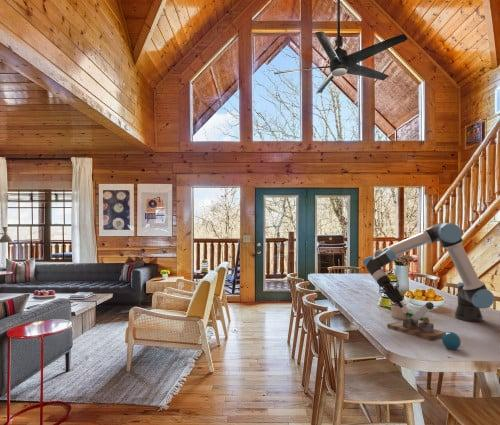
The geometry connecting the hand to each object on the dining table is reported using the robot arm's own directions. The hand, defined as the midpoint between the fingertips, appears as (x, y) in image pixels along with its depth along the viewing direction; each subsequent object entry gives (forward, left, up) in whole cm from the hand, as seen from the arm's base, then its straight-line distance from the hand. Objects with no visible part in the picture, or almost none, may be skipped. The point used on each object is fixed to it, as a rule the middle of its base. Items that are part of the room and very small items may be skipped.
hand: (406, 312), depth 195 cm
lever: (-1, +1, -6) cm, 6 cm away
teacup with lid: (+4, -28, -10) cm, 30 cm away
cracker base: (-4, +3, -10) cm, 11 cm away
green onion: (+1, -32, -10) cm, 33 cm away
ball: (-19, +25, -10) cm, 33 cm away
